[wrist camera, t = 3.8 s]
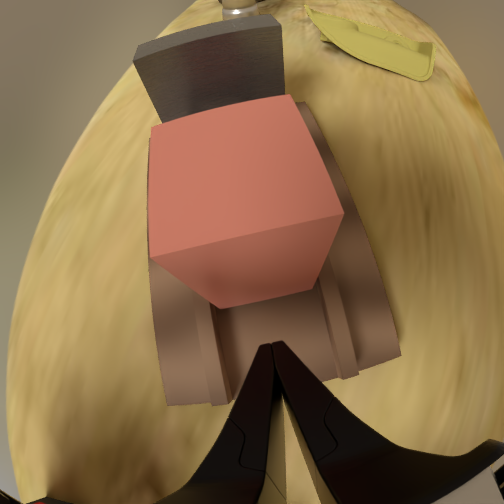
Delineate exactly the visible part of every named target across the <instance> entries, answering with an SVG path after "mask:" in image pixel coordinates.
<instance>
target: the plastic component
mask: <svg viewBox="0 0 504 504" xmlns="http://www.w3.org/2000/svg"><path fill="white" fill-rule="evenodd" d="M304 7H305V9H306V12H307V14H308V16H309V17H310V18H311V20H312V21H313V22H314V24H315V25H316V26H317V27H318V29H319V30H320V31H321V36H320V40H322V41H326V42H331V43H334V44H335V45H337V46H338V47H340V48H341V49H342V50H344V51H345V52H347V53H349V54H350V55H352V56H354V57H356V58H358V59H360V60H363V61H365V62H367V63H370V64H373V65H376V66H379V67H382V68H385V69H388V70H390V71H393V72H396V73H399V74H401V75H404V76H406V77H409V78H411V79H414V80H416V81H425V80H427V79H429V78H430V77H431V75H432V73H433V67H434V61H435V54H436V45H435V44H433V43H430V42H417V41H414V40H411V39H408V38H406V37H403V36H401V35H398V34H395V33H393V32H390V31H387V30H384V29H381V28H378V27H375V26H372V25H368V24H365V23H361V22H358V21H354V20H350V19H346V18H342V17H338V16H334V15H330V14H325V13H321V12H318V11H314V10H312V9H310V8H309V6H308V5H306V4H304Z"/></svg>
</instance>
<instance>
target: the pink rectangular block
mask: <svg viewBox="0 0 504 504" xmlns="http://www.w3.org/2000/svg"><path fill="white" fill-rule="evenodd" d="M148 215H149V250H150V258H151V259H152V260H154V261H155V262H156V263H158V264H159V265H160V266H161V267H163V268H164V269H165V270H167V271H168V272H169V273H171V274H172V275H173V276H175V277H176V278H177V279H179V280H180V281H181V282H183V283H184V284H185V285H187V286H188V287H190V288H191V289H192V290H194V291H195V292H197V293H198V294H199V295H201V296H202V297H203V298H205V299H206V300H208V301H209V302H211V303H212V304H213V305H215V306H216V307H218V308H219V309H225V308H230V307H235V306H239V305H244V304H249V303H254V302H258V301H263V300H267V299H272V298H276V297H281V296H285V295H290V294H294V293H298V292H302V291H306V290H311V289H312V288H313V286H314V284H315V282H316V280H317V277H318V275H319V273H320V271H321V268H322V266H323V264H324V261H325V259H326V257H327V255H328V252H329V250H330V247H331V245H332V243H333V240H334V238H335V235H336V233H337V231H338V228H339V226H340V223H341V221H342V218H343V216H344V211H343V209H342V206H341V204H340V201H339V198H338V196H337V193H336V191H335V189H334V186H333V184H332V181H331V179H330V177H329V174H328V172H327V170H326V167H325V165H324V163H323V160H322V158H321V156H320V154H319V152H318V149H317V147H316V145H315V143H314V141H313V139H312V137H311V135H310V132H309V130H308V128H307V126H306V124H305V122H304V120H303V118H302V116H301V114H300V112H299V110H298V108H297V107H296V105H295V103H294V101H293V99H292V97H291V95H290V94H287V95H280V96H273V97H267V98H262V99H256V100H251V101H246V102H241V103H236V104H231V105H227V106H223V107H219V108H214V109H210V110H207V111H203V112H199V113H195V114H192V115H188V116H185V117H182V118H178V119H175V120H172V121H169V122H166V123H162V124H159V125H157V126H154V127H151V140H150V158H149V192H148Z"/></svg>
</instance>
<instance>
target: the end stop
mask: <svg viewBox="0 0 504 504" xmlns="http://www.w3.org/2000/svg"><path fill="white" fill-rule="evenodd" d="M133 63H134V65H135V67H136V69H137V72H138V74H139V76H140V78H141V80H142V82H143V84H144V86H145V88H146V90H147V92H148V95H149V97H150V99H151V101H152V103H153V105H154V107H155V109H156V111H157V113H158V115H159V117H160V119H161V121H162V123H166V122H169V121H172V120H175V119H178V118H182V117H185V116H188V115H192V114H195V113H199V112H203V111H207V110H210V109H214V108H219V107H223V106H227V105H231V104H236V103H241V102H246V101H251V100H256V99H262V98H267V97H273V96H280V95H285V83H284V61H283V43H282V27H281V24H280V23H279V22H278V21H277V20H276V19H275V18H274V17H273V16H272V15H271V14H265V15H256V16H249V17H242V18H236V19H230V20H225V21H220V22H215V23H211V24H206V25H202V26H198V27H194V28H190V29H187V30H183V31H180V32H176V33H173V34H170V35H167V36H164V37H161V38H158V39H155V40H152V41H150V42H147V43H144V44H141V45H139V46H138V48H137V51H136V53H135V56H134V59H133Z"/></svg>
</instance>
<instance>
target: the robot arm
mask: <svg viewBox="0 0 504 504" xmlns="http://www.w3.org/2000/svg"><path fill="white" fill-rule="evenodd" d="M282 396H283V398H282ZM283 399H284V403H285V406H286V408H287V411H288V414H289V417H290V420H291V423H292V425H293V428H294V431H295V434H296V437H297V439H298V442H299V445H300V448H301V451H302V453H303V456H304V459H305V461H306V464H307V467H308V470H309V472H310V475H311V478H312V480H313V483H314V486H315V489H316V491H317V494H318V497H319V499H320V502H321V504H504V464H503V465H502V466H501V467H500V468H499V469H498V470H496V471H495V472H494V473H493V471H492V469H491V467H490V465H491V464H493V463H494V462H495V461H496V460H498V459H499V458H500V457H501V456H502V455H503V454H504V443H502V442H499V441H496V440H492V439H488V440H486V441H485V442H483V443H482V444H480V445H479V446H477V447H476V448H475V449H473V450H472V451H470V452H468V453H466V454H464V455H461V456H443V455H437V454H431V453H426V452H421V451H416V450H411V449H407V448H403V447H400V446H398V445H396V444H394V443H392V442H391V441H389V440H388V439H386V438H385V437H383V436H382V435H381V434H379V433H378V432H376V431H375V430H374V429H372V428H371V427H370V426H368V425H367V424H365V423H364V422H363V421H361V420H360V419H359V418H358V417H356V416H355V415H354V414H353V413H352V412H350V411H349V410H348V409H347V408H346V407H345V406H344V405H343V404H342V403H341V402H340V401H339V400H338V399H337V398H336V397H334V395H333V394H332V393H331V392H330V391H329V390H328V388H327V387H326V386H325V385H324V384H323V383H322V382H321V381H320V380H319V379H318V378H317V377H316V376H315V375H314V374H313V372H312V371H311V370H310V369H309V368H308V367H307V366H306V365H305V364H304V363H303V362H302V361H301V360H300V358H299V357H298V356H297V355H296V354H295V353H294V352H293V351H292V350H291V349H290V347H289V346H288V345H287V344H286V343H285V342H284V341H283V340H280V341H275V342H272V345H271V343H266V344H261V345H259V347H258V349H257V352H256V354H255V357H254V359H253V361H252V364H251V366H250V368H249V371H248V373H247V375H246V378H245V380H244V382H243V385H242V387H241V389H240V391H239V394H238V396H237V398H236V400H235V403H234V405H233V407H232V409H231V412H230V414H229V416H228V418H227V420H226V422H225V425H224V427H223V429H222V431H221V433H220V435H219V436H218V438H217V440H216V442H215V443H214V445H213V447H212V448H211V450H210V451H209V453H208V454H207V456H206V457H205V459H204V460H203V462H202V463H201V464H200V466H199V467H198V469H197V470H196V472H195V473H194V474H193V476H192V477H191V479H190V480H189V481H188V482H187V483H186V484H185V485H184V486H183V487H182V488H180V489H179V490H177V491H176V492H174V493H172V494H170V495H169V496H167V497H165V498H163V499H161V500H160V501H158V502H156V503H154V504H287V502H286V463H285V435H284V412H283ZM0 504H23V503H21V502H20V501H18V500H16V499H15V498H13V497H11V496H10V495H8V494H7V493H5V492H4V491H2V490H1V489H0Z"/></svg>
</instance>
